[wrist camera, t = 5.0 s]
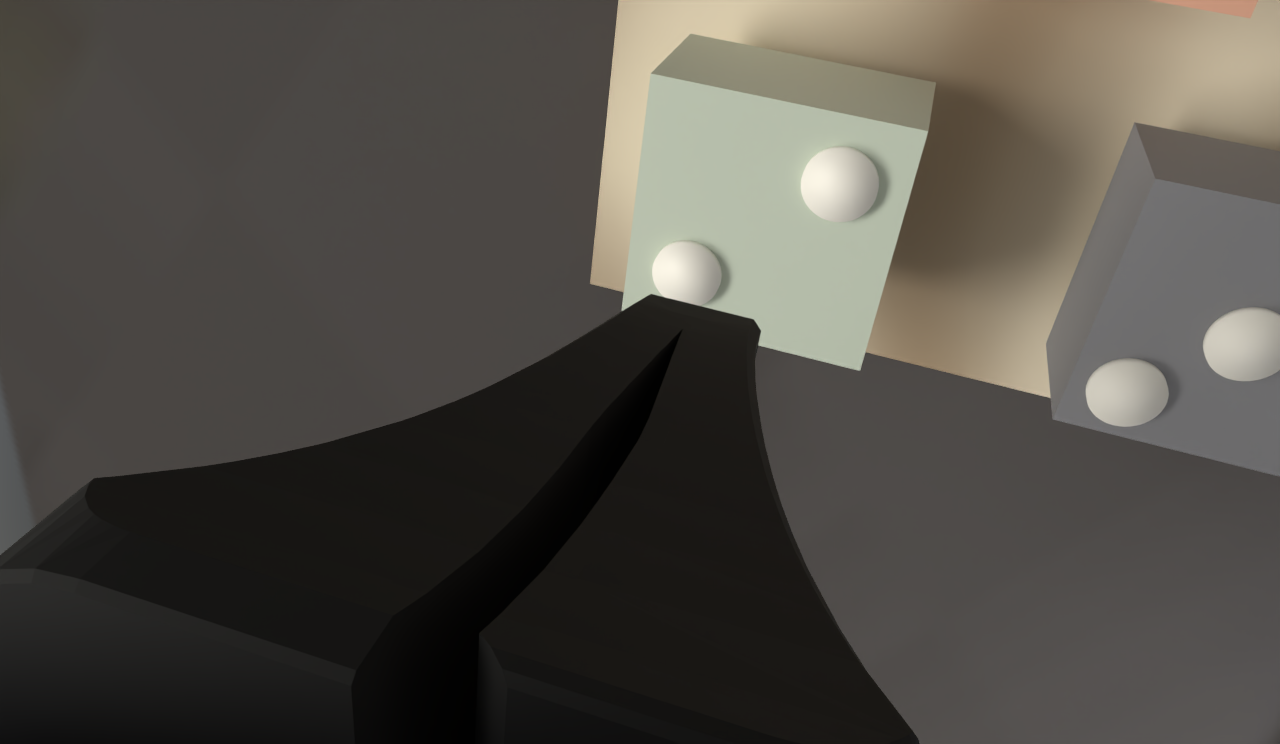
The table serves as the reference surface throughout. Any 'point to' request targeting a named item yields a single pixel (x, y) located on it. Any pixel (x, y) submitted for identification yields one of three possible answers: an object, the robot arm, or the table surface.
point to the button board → (977, 141)
